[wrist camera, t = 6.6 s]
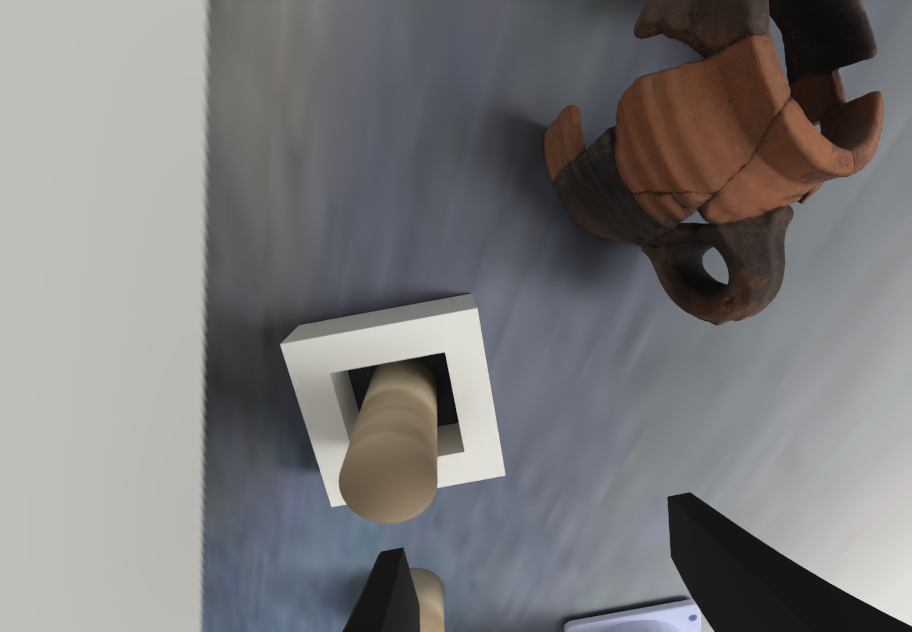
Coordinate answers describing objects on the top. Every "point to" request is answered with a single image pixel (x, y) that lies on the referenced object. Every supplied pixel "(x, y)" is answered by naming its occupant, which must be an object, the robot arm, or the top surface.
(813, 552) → the top surface
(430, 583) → the short pin
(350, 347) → the collar
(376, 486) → the long pin
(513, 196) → the top surface
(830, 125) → the pottery mug
